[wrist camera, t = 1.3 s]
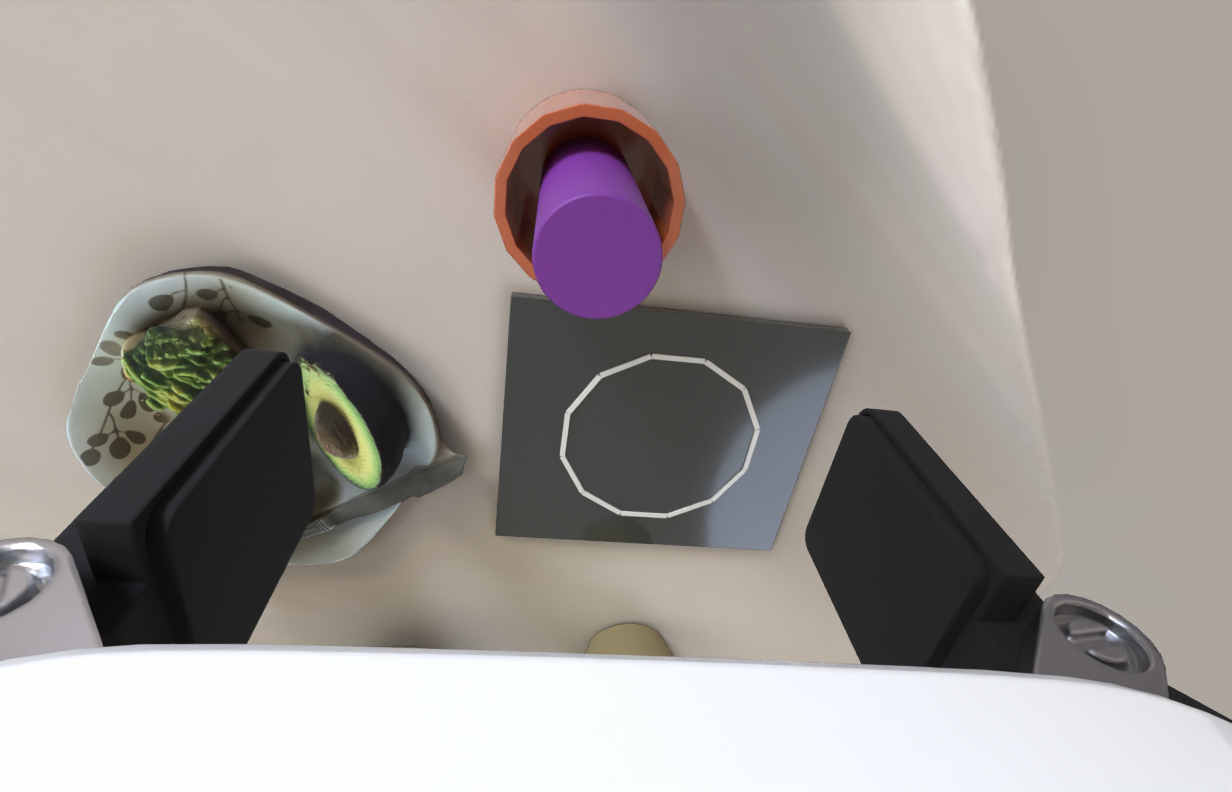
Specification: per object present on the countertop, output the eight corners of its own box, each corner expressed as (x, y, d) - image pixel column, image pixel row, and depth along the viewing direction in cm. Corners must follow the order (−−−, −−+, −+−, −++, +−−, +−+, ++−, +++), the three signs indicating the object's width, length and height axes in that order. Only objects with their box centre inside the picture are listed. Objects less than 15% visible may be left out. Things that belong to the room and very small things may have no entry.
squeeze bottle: (666, 599, 44) (721, 910, 29) (690, 666, 48) (750, 970, 33) (556, 626, 45) (553, 946, 29) (589, 691, 49) (602, 1000, 34)
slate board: (511, 291, 32) (510, 297, 31) (847, 327, 34) (852, 333, 33) (496, 529, 40) (495, 537, 39) (768, 544, 42) (771, 551, 42)
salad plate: (330, 606, 42) (307, 667, 38) (33, 477, 35) (-33, 535, 31) (502, 414, 35) (494, 465, 31) (176, 208, 28) (114, 240, 24)
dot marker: (545, 125, 27) (537, 184, 18) (636, 139, 28) (674, 202, 18) (538, 217, 29) (527, 313, 20) (622, 228, 30) (651, 326, 20)
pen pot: (510, 76, 27) (499, 90, 22) (677, 102, 28) (701, 121, 23) (501, 244, 30) (490, 286, 26) (649, 262, 31) (665, 305, 27)
